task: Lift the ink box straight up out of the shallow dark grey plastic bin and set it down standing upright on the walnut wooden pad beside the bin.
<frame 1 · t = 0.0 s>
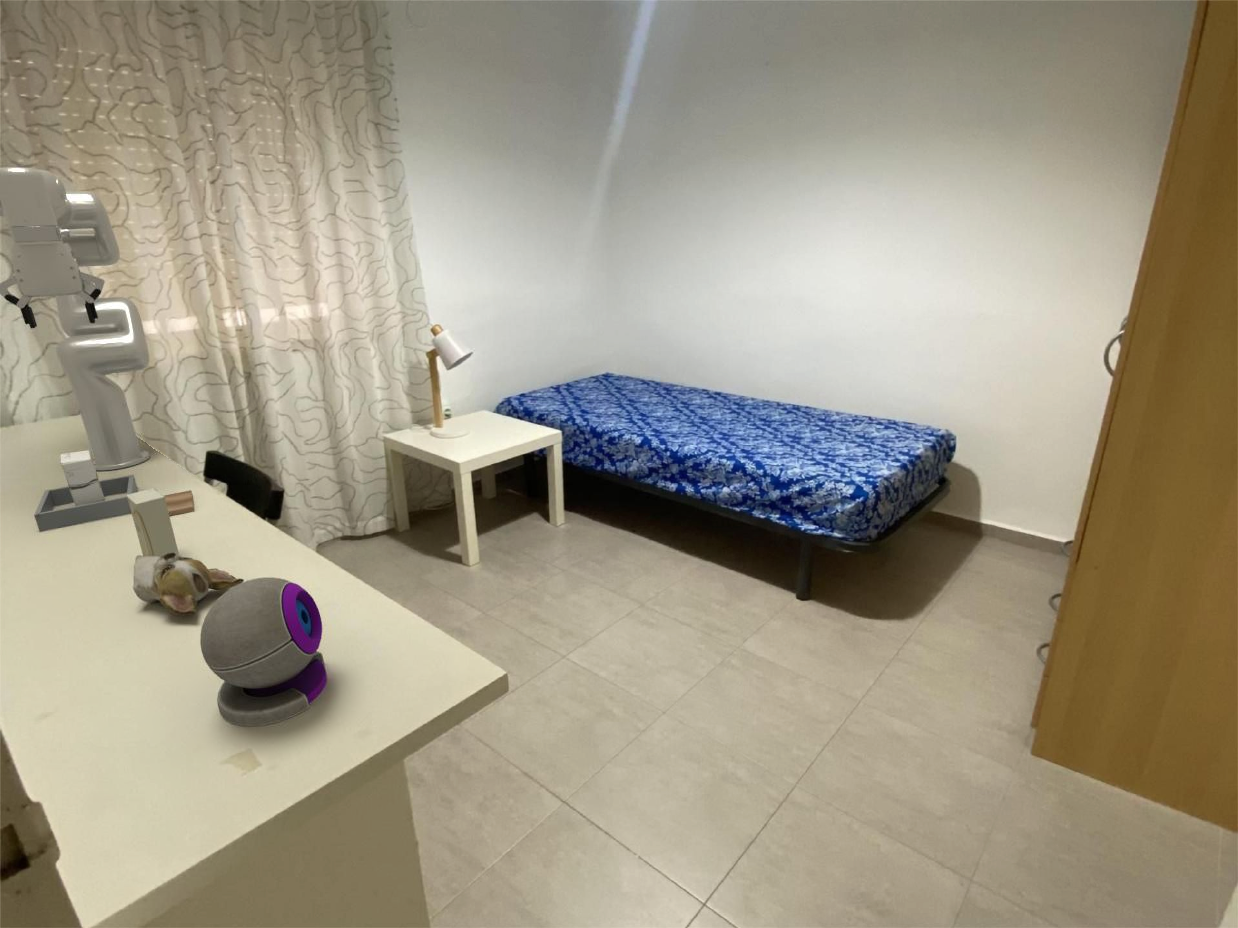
hand: (63, 325, 139), 37 cm above the table, fingers open, 9 cm apart
pad: (168, 507, 142), on the table
bin: (92, 508, 142), on the table
webcam: (277, 691, 85), on the table
ink box: (92, 510, 142), resting in bin
ceramic sculpture: (186, 603, 106), on the table
skincare box: (163, 560, 120), on the table
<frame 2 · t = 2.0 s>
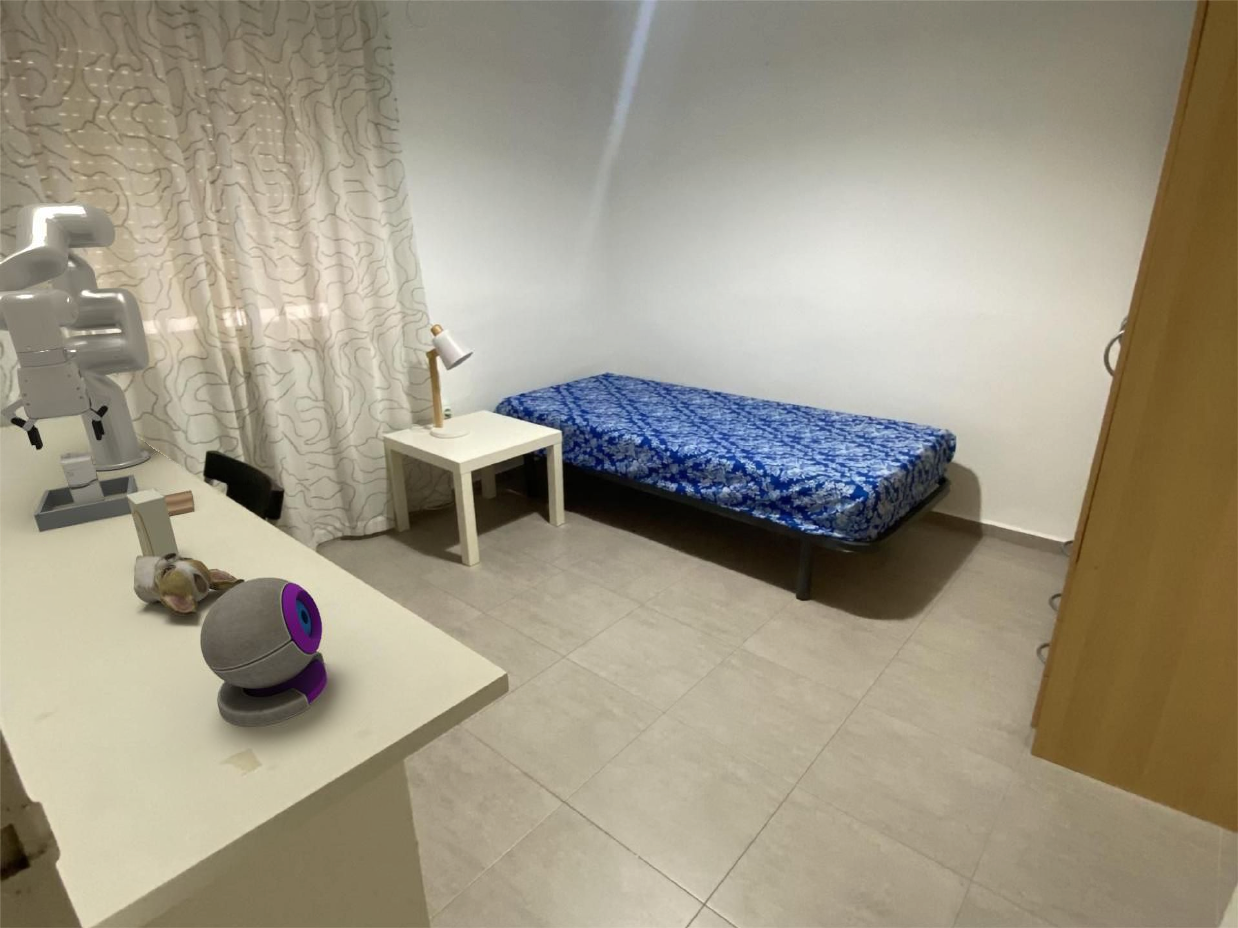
hand: (70, 443, 137), 15 cm above the table, fingers open, 9 cm apart
nothing on the table moved.
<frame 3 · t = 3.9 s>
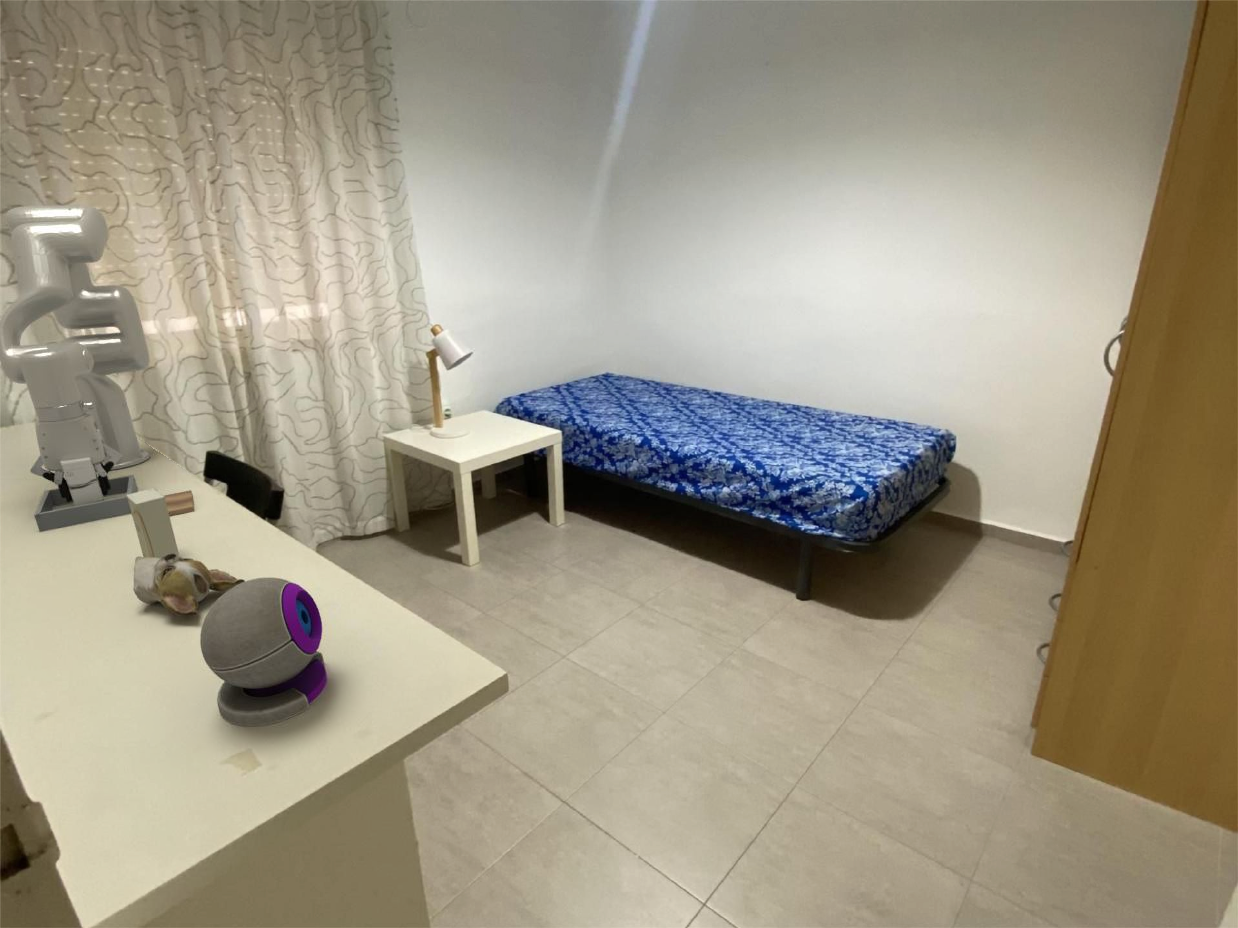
hand: (87, 495, 141), 3 cm above the table, fingers closed on ink box, 5 cm apart
ink box: (92, 509, 142), resting in bin, touching gripper
everything else where it was.
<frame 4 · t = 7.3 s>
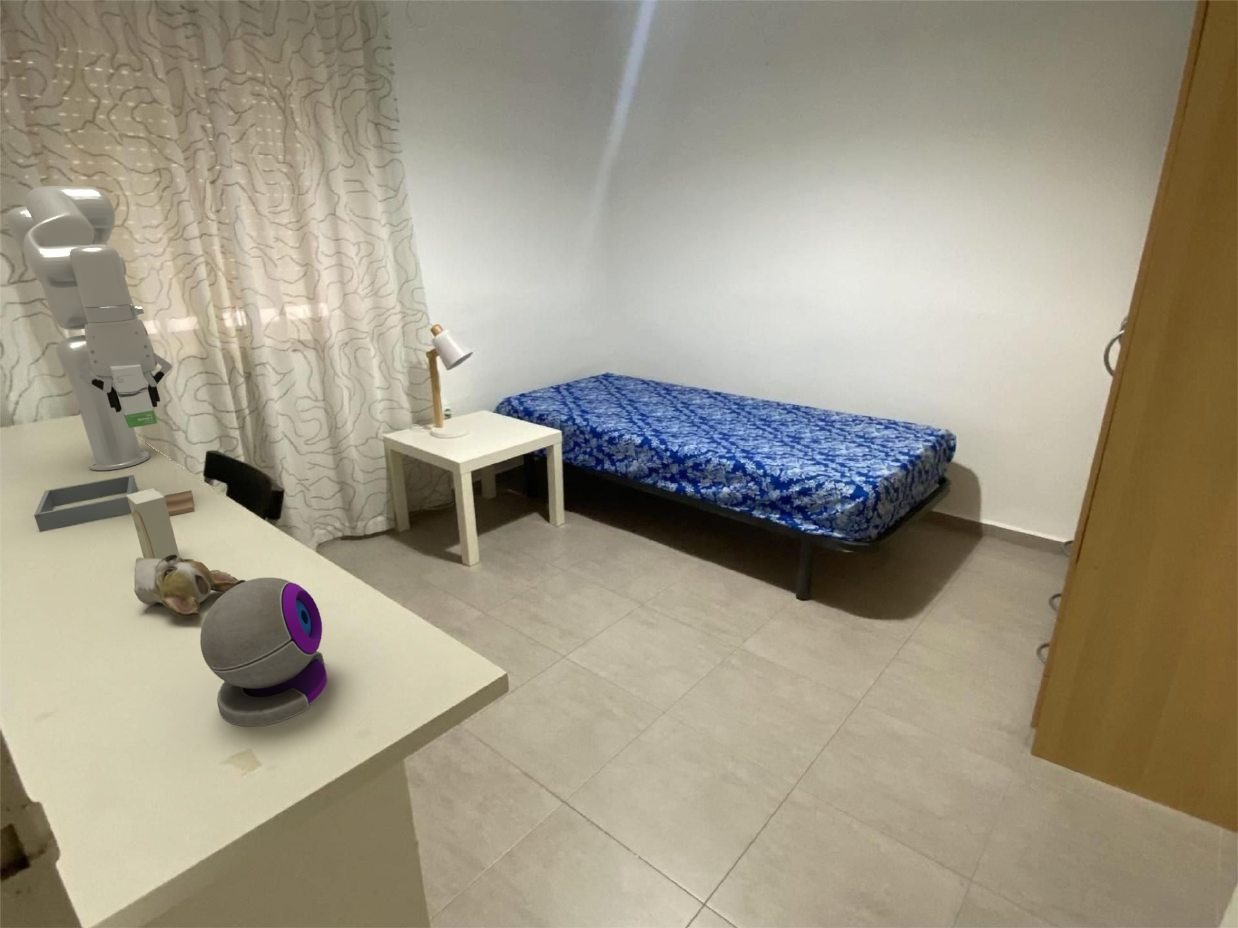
hand: (136, 407, 134), 22 cm above the table, fingers closed on ink box, 5 cm apart
ink box: (141, 423, 135), point 18 cm above the table, touching gripper
everything else where it was.
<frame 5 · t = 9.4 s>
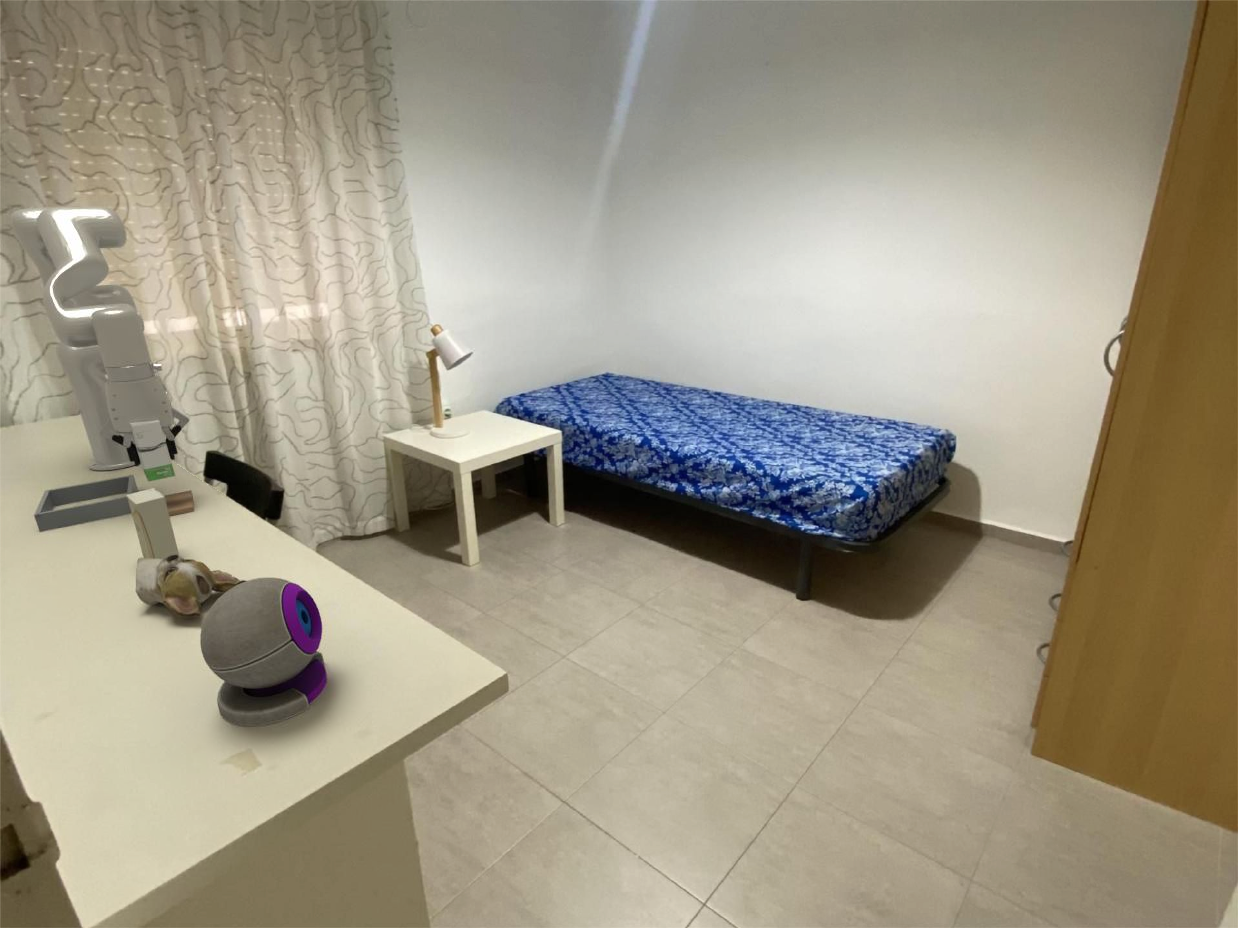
hand: (155, 460, 138), 10 cm above the table, fingers closed on ink box, 5 cm apart
ink box: (159, 475, 139), point 7 cm above the table, touching gripper
when the fingers open (5 cm above the table, at t = 10.9 s): ink box drops 1 cm, resting on pad.
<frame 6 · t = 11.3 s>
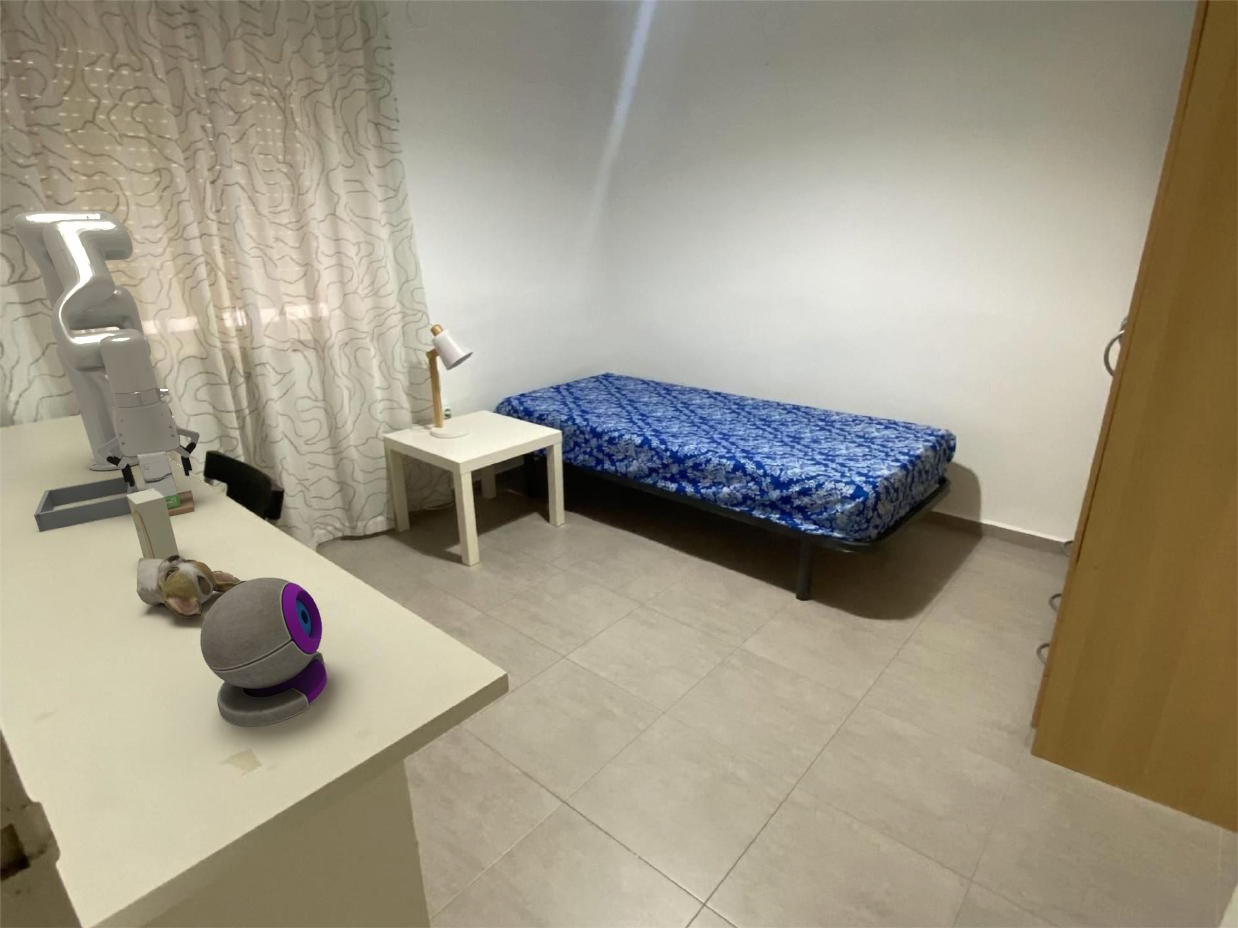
hand: (160, 479, 140), 6 cm above the table, fingers open, 9 cm apart
ink box: (165, 504, 141), point 1 cm above the table, touching pad
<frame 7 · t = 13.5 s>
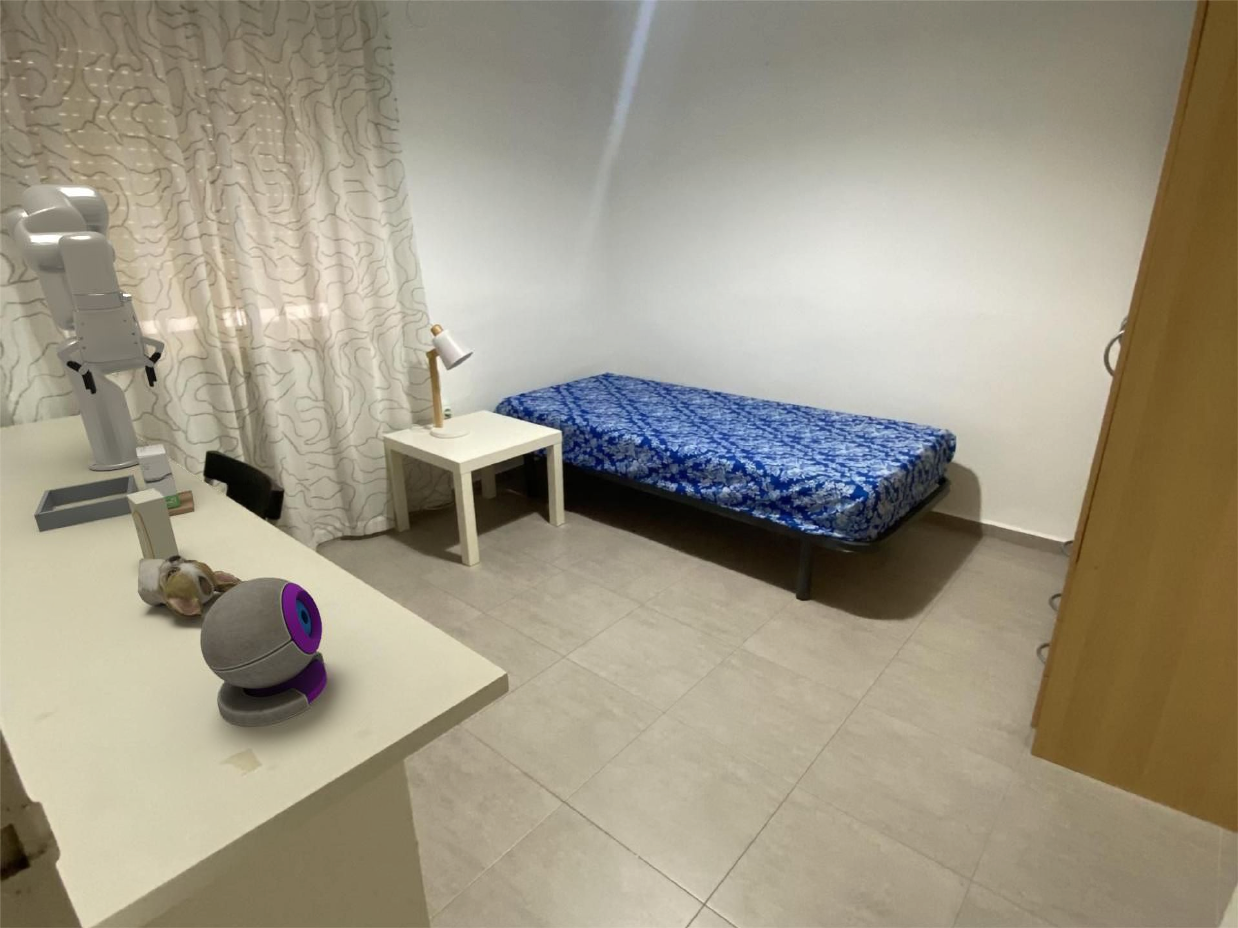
hand: (123, 389, 137), 25 cm above the table, fingers open, 9 cm apart
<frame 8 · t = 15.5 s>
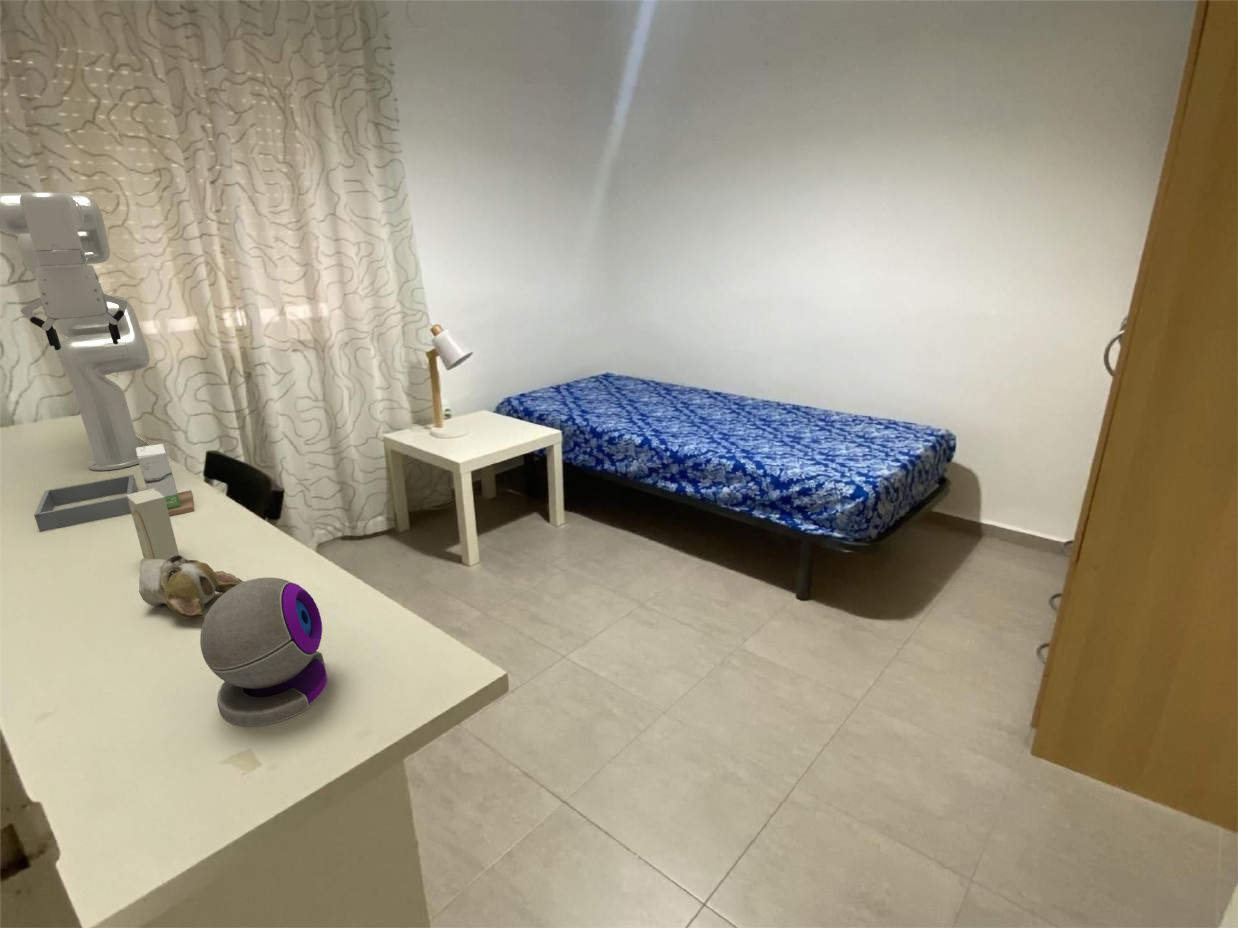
hand: (87, 346, 140), 32 cm above the table, fingers open, 9 cm apart
at the end: ink box 0.4 cm off-centre on the pad, point 0.8 cm above the pad's base; ink box tilted 0°; the gripper is holding nothing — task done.
